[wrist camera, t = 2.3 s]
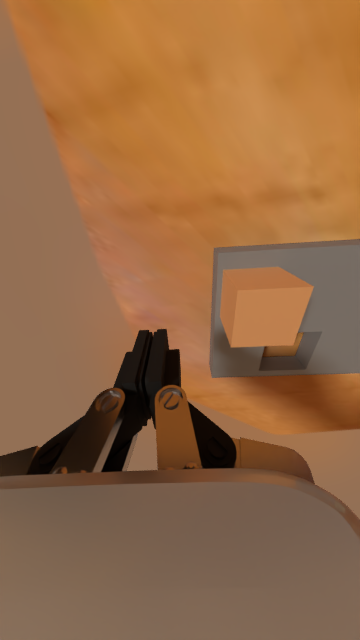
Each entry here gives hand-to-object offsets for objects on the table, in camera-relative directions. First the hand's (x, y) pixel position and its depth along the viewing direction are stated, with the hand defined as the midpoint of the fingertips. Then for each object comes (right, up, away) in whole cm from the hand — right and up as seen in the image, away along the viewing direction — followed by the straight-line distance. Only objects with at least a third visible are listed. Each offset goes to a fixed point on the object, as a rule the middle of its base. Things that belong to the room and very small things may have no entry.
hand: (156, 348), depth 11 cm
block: (+8, +4, +6) cm, 11 cm away
